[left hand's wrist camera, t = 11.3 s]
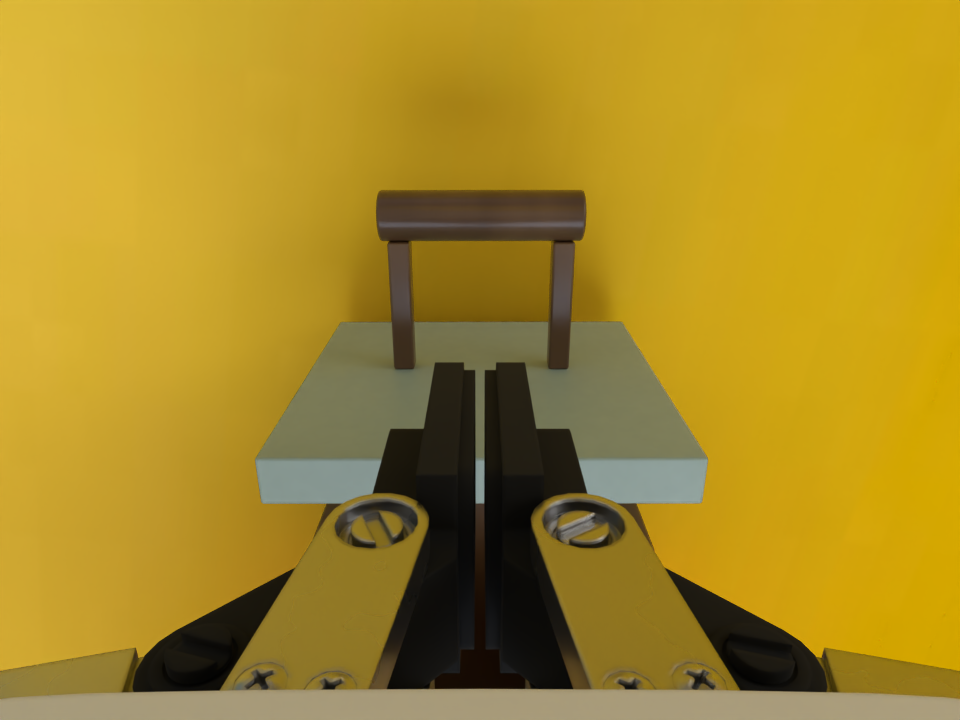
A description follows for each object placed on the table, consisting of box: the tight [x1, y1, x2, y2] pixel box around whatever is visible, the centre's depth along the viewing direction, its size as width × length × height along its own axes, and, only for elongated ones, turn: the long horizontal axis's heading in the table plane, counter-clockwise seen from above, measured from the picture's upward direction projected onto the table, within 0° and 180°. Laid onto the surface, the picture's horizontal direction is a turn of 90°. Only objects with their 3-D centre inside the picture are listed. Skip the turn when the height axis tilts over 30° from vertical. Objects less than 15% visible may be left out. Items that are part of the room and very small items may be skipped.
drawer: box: [255, 190, 708, 689], centre depth 22 cm, size 25×10×10 cm, turn 0°
